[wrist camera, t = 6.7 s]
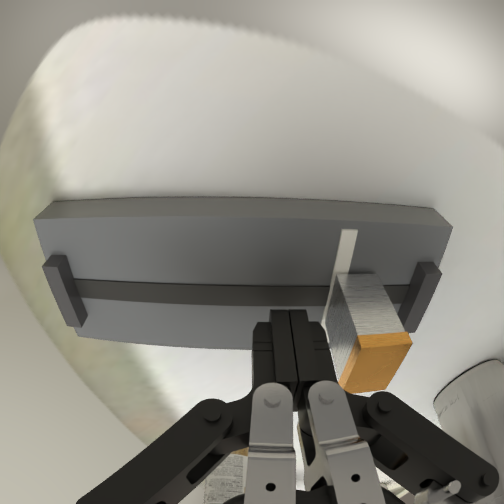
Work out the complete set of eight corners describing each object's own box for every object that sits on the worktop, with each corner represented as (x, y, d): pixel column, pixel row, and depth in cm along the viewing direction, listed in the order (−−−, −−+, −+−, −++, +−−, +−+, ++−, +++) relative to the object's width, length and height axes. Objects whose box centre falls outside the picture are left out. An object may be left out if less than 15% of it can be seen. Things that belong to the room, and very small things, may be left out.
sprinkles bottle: (249, 439, 28) (251, 554, 17) (206, 436, 28) (200, 552, 17) (256, 423, 26) (259, 554, 14) (208, 419, 25) (200, 552, 14)
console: (434, 208, 14) (463, 237, 12) (394, 320, 18) (409, 354, 16) (52, 201, 14) (22, 229, 11) (88, 314, 18) (72, 348, 15)
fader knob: (378, 273, 13) (412, 343, 10) (361, 321, 15) (385, 389, 11) (335, 273, 13) (361, 348, 10) (323, 322, 15) (340, 394, 11)
